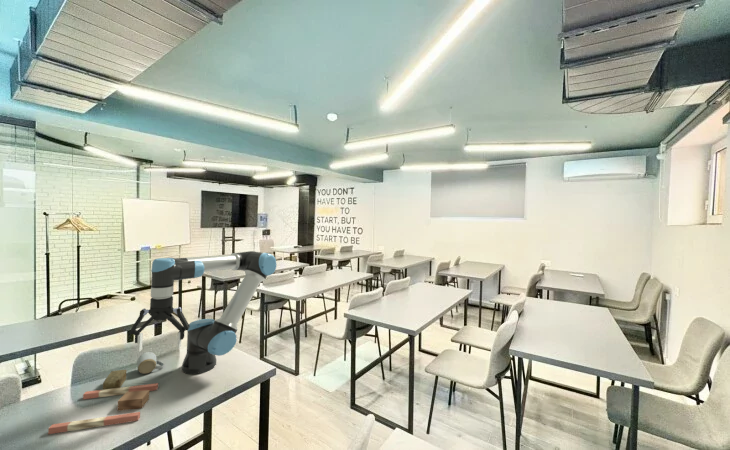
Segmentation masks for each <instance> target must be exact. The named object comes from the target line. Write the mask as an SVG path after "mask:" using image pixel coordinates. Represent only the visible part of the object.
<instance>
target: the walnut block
mask: <svg viewBox="0 0 730 450" xmlns="http://www.w3.org/2000/svg"><path fill="white" fill-rule="evenodd" d="M150 392H151V391H150V390H144V391H132V392H126V393H125V394H122V396H121V397H120V398H119V399H118V400H117V412H119V411H129V410H130V411H131V410H139V409H143V408H144V406H145V405H146V404H147V403H148V401H149V400H150Z"/></svg>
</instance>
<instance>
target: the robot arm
mask: <svg viewBox="0 0 730 450" xmlns="http://www.w3.org/2000/svg"><path fill="white" fill-rule="evenodd" d="M277 266H278V265H277V259H276V257H275V256H274V255H273V254H271V253H267V252H260V251H254V250H253V251H242V252H241V251H240V252H234V253H233V252H232V253H230V254H225V255H211V256H208V255H207V256H191V257H176V258H175V257H160V258H155V259H153V261H152V264H151V270H150V271H151V278H150V279H151V283H150V284H151V285H150V302H149V303H150V304H149V309H146V308H142V309H141V310H140V311H139V315H138V318H137V319H136V321H135V322H134V324H133V326H132V327H131V328H130V330H129V332H128V334H129V335H134V343H135V344H136V347H137V348H136V353H140V352H141V351H142V350H143V332H142V331H144V330H145V329H146V327H147V326H148V325H150V323H152V321H153V320H154V321H157V322H158V321H165V320H167V322H170V323H171V324H172V325H173V326H174V328H176V329H177V330H178V332H177V344H176V346H177V347H176V349H177V350H179V349H180V348H181V347H182V340H184V338H185V331H187V336H186V338H187V340H186V354H185V356H184V359H183V362H182V364H181V372H183V373H185V374H191V375H196V374H202V373H206V372H208V371H210V370H212V369H214V368H215V367H216V366H217V357H216V356H218V357H219V356H224V355H226V354H228V353H229V352H231V351H232V350H233V348H234V347H235V346H236V343H237V341H238V340H237V339H238V337H237V334H236V333H237V331H238V323H239V322H240V320H241V319H242V316H243V314H244V313H245V311H246V309H247V307H248V305H249V304H250V302H251V300H252V298H253V296H254V295H255V293H256V291H257V289H258V287H259V285H260V284H261V283H262V282H264V281H266V278H268V276H271V275H273V274H274V273H275V272H276V270H277ZM225 270H231V271H243V272H244V273H245V275H244V277H243V278H242V280H241V282H240V284H239V286H238V288H237V289H236V290H235V292H234V294H233V296H232V298H231V299H230V300H229V303H228V304H227V305H226V308H225V310H224V311H223V313H222V314H221V316H220V317H219V318H217V319H214V318H202V319H197V320H194V321H191V322H190V323H188V320H187V318H186V317H185V315H184V312H183V309H182V307H181V306H178V307H176V308H174V296H173V295H174V287H175V286H174V285H175V281H181V280H189V279H190V280H191V279H196V278H200V277H202V276H204V274H205V272H214V271H225ZM173 313H175V314H176V315H177V318H178V319H179V321H178V319H176V318H175V316H174V315H173ZM147 314H149V316H150V317H149V318H148V319H147V320H146V321H145V322H144V324H142V326H141V327H140V328H138V327H139V326H140V324H141V322H142V320H143V319H144V317H145V316H146V315H147ZM215 365H216V366H215ZM214 366H215V367H214Z"/></svg>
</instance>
